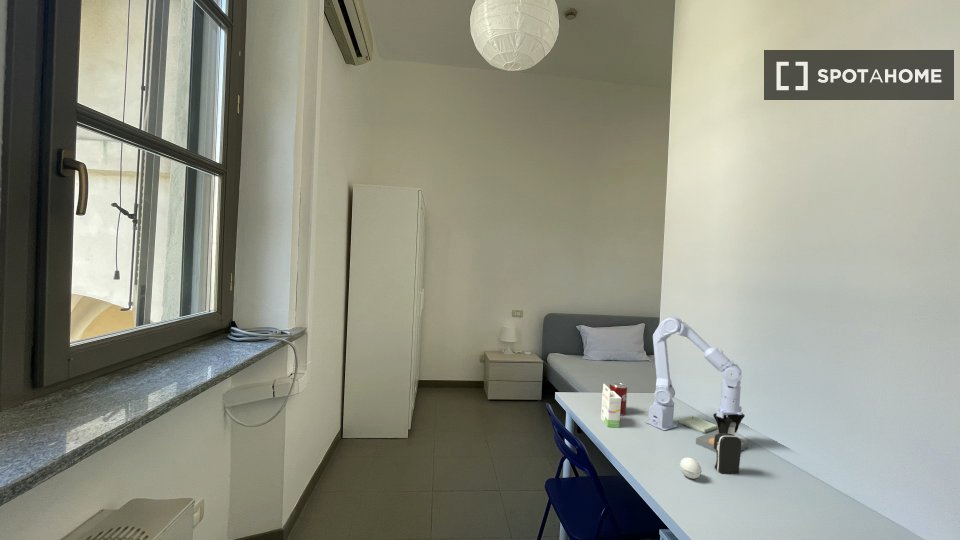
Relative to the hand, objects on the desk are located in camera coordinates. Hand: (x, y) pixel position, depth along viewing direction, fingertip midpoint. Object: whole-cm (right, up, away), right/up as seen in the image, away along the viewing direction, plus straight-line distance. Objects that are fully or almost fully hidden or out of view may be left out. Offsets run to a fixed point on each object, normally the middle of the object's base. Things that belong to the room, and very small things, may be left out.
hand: (727, 433), depth 130 cm
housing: (-4, -3, -2) cm, 5 cm away
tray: (-3, -3, +14) cm, 14 cm away
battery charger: (-15, -3, -19) cm, 24 cm away
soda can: (-33, -2, +23) cm, 40 cm away
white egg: (-28, -2, -25) cm, 38 cm away
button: (-8, -2, -5) cm, 9 cm away
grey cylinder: (0, -4, 0) cm, 4 cm away
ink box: (-40, -1, +11) cm, 41 cm away
